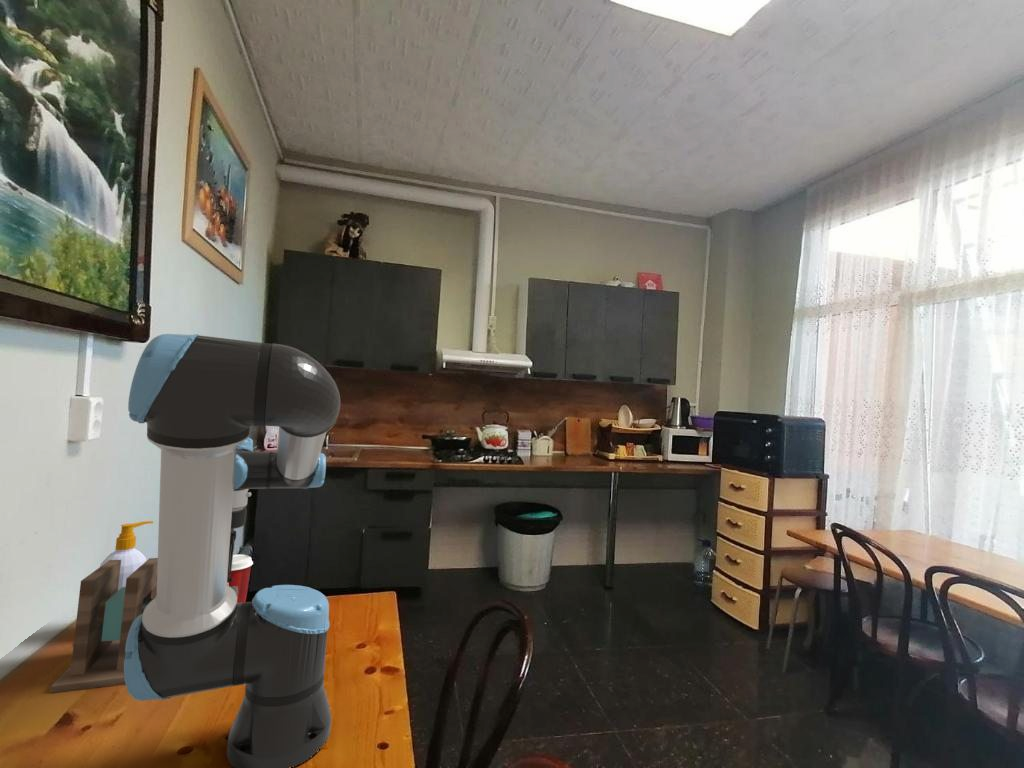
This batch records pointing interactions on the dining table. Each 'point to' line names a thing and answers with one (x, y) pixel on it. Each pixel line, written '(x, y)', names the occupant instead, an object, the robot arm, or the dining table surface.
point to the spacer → (113, 616)
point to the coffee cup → (241, 575)
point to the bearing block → (90, 654)
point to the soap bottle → (127, 552)
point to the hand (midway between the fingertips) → (216, 617)
